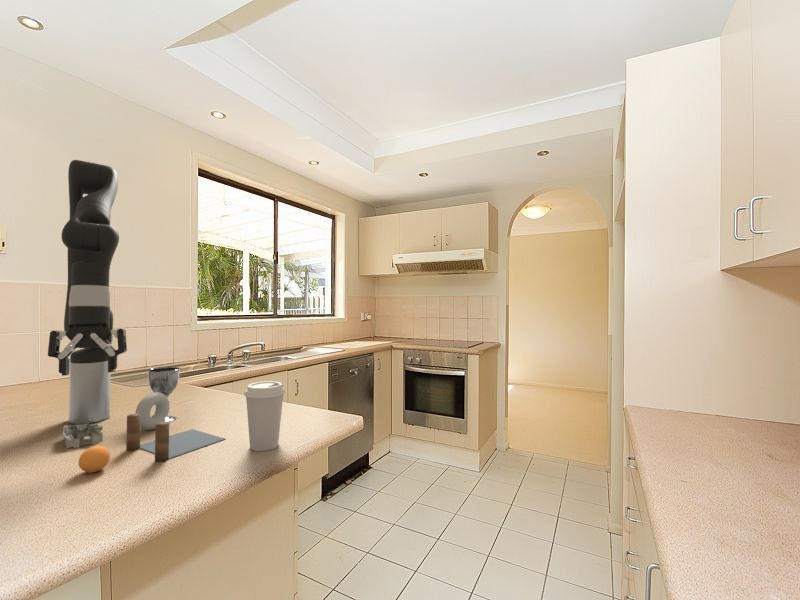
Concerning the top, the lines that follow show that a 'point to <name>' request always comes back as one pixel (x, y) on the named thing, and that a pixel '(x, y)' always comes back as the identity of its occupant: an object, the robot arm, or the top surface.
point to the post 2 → (161, 441)
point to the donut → (145, 408)
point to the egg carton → (82, 434)
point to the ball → (94, 459)
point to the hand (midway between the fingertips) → (88, 373)
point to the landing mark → (184, 442)
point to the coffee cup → (264, 414)
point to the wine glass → (164, 382)
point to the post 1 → (133, 432)
